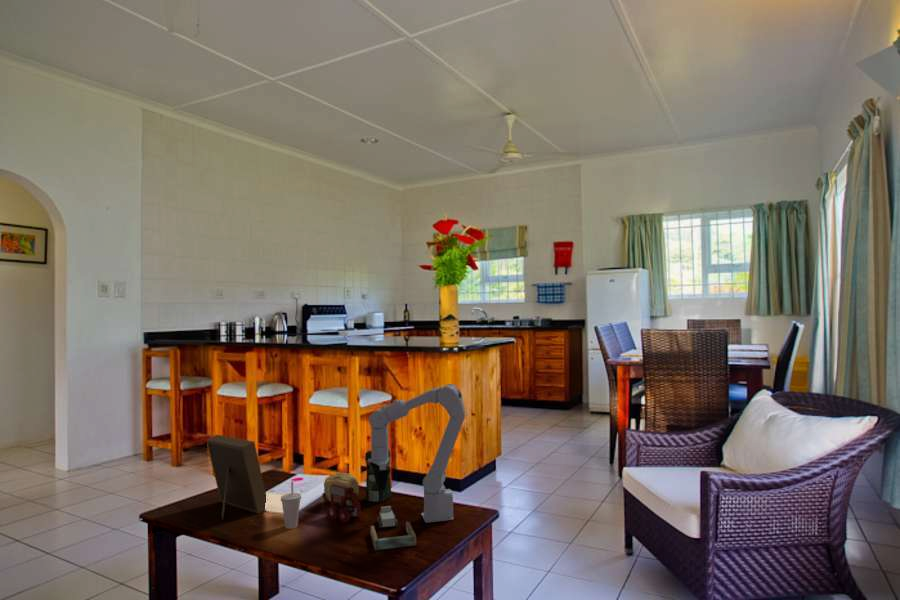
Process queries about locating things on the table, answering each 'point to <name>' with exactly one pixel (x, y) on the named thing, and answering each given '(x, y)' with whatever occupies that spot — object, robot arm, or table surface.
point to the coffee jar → (372, 487)
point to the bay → (394, 539)
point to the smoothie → (291, 508)
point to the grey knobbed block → (386, 517)
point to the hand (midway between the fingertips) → (380, 486)
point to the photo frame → (237, 473)
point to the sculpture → (340, 483)
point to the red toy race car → (343, 503)
